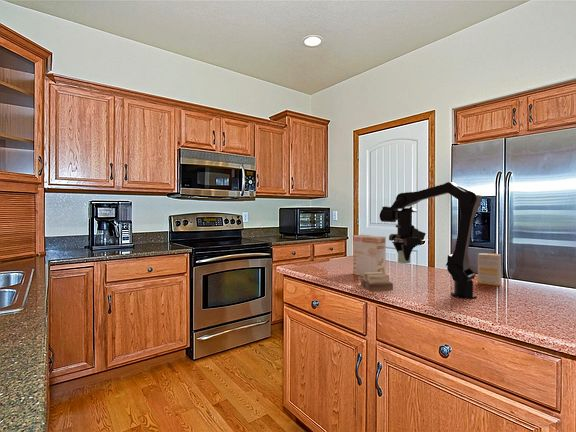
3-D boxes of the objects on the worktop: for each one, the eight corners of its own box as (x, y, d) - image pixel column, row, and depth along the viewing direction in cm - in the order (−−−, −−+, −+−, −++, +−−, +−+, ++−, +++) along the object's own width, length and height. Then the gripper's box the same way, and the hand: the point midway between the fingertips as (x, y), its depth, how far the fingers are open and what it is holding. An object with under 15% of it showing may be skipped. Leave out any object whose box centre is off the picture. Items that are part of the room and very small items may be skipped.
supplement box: (501, 284, 144) (502, 254, 143) (499, 286, 140) (499, 255, 140) (480, 281, 149) (480, 252, 149) (477, 283, 146) (477, 253, 145)
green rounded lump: (412, 263, 140) (412, 252, 140) (401, 263, 139) (401, 252, 139) (407, 260, 145) (407, 250, 145) (396, 261, 144) (396, 250, 144)
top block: (389, 283, 137) (389, 275, 137) (370, 283, 136) (370, 276, 136) (381, 279, 145) (381, 272, 145) (363, 279, 144) (363, 272, 144)
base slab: (392, 291, 136) (392, 283, 136) (369, 291, 135) (369, 284, 135) (383, 285, 146) (383, 278, 146) (360, 286, 145) (360, 279, 145)
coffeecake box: (386, 277, 159) (386, 236, 158) (376, 279, 155) (376, 237, 154) (362, 272, 171) (362, 234, 171) (352, 274, 167) (352, 235, 167)
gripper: (434, 224, 133) (434, 263, 134) (412, 221, 151) (412, 255, 152) (407, 224, 132) (407, 263, 132) (388, 221, 150) (388, 256, 151)
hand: (404, 259), depth 142 cm, fingers closed on green rounded lump, 5 cm apart
